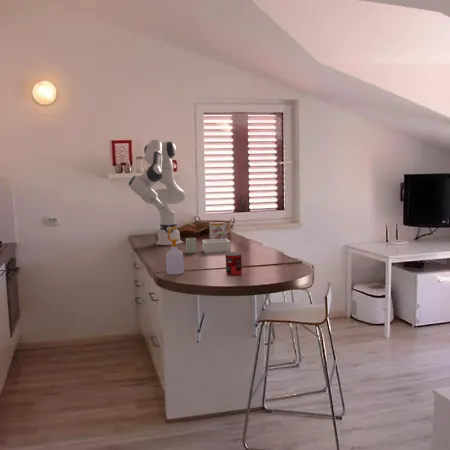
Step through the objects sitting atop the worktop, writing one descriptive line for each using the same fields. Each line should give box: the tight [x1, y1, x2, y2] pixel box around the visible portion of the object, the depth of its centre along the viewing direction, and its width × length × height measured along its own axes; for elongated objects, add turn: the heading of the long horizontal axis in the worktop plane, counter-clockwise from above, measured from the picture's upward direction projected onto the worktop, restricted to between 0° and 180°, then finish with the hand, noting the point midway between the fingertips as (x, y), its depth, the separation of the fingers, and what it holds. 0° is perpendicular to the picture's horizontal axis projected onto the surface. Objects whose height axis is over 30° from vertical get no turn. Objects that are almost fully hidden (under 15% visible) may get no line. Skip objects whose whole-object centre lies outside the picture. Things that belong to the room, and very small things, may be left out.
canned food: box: [225, 251, 243, 277], centre depth 283 cm, size 8×8×11 cm
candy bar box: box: [208, 221, 227, 239], centre depth 373 cm, size 11×5×16 cm, turn 84°
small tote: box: [185, 237, 198, 255], centre depth 354 cm, size 6×6×9 cm
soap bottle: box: [165, 226, 185, 276], centre depth 291 cm, size 9×9×25 cm
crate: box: [201, 237, 232, 255], centre depth 356 cm, size 14×16×7 cm
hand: (167, 211), depth 349 cm, fingers open, 8 cm apart
